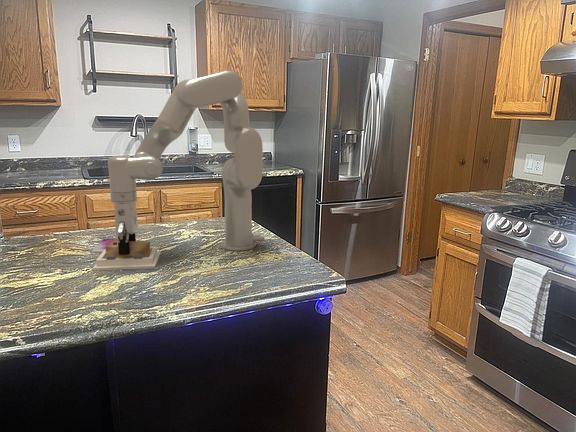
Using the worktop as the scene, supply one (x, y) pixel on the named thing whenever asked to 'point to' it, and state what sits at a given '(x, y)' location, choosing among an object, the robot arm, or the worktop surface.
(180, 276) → the worktop surface
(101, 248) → the smartphone
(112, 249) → the door panel
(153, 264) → the cabinet frame
